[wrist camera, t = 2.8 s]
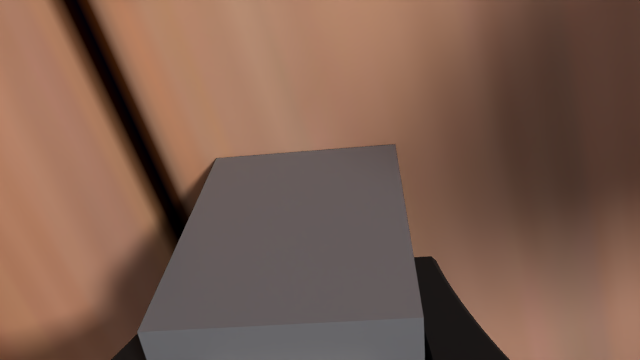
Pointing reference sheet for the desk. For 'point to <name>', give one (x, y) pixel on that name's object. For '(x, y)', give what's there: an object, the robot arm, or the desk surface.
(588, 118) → the desk surface
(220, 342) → the connector plug
